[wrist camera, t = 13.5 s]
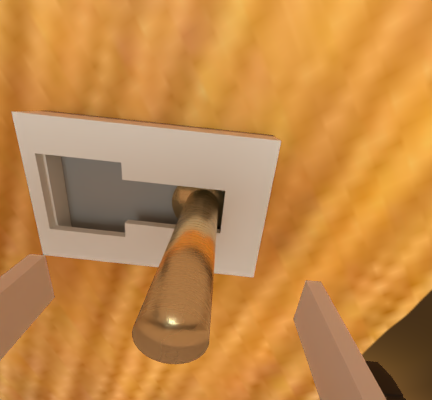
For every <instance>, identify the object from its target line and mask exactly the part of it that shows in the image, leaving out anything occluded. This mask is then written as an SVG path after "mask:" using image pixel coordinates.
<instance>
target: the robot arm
mask: <svg viewBox="0 0 432 400" xmlns="http://www.w3.org/2000/svg"><path fill="white" fill-rule="evenodd" d="M54 297H55V296H54V292H53V288H52V283H51V279H50V275H49V270H48V266H47V262H46V257H45V255H35V254H29V255H28V256H26V257H25V258H24V259H22V260H21V261H20V262H19V263H17V264H16V265H15V266H14V267H12V268H11V269H10V270H8V271H7V272H6V273H5V274H3V275H2V276H1V277H0V360H1V359H2V358H3V357H4V355H5V354H6V353H7V352H8V351H9V350H10V348H11V347H12V346H13V345H14V344H15V343H16V342H17V340H18V339H19V338H20V337H21V336H22V335H23V333H24V332H25V331H26V330H27V329H28V328H29V326H30V325H31V324H32V323H33V322H34V321H35V319H36V318H37V317H38V316H39V315H40V314H41V312H42V311H43V310H44V309H45V308H46V307H47V306H48V304H49V303H50V302H51V301H52V300H53V299H54ZM294 322H295V325H296V328H297V331H298V334H299V337H300V340H301V343H302V346H303V349H304V352H305V355H306V358H307V361H308V364H309V367H310V370H311V373H312V376H313V379H314V382H315V385H316V388H317V391H318V394H319V397H320V400H406V399H405V398H403V394H402V393H401V391H400V389H399V388H398V386H397V384H396V383H395V381H394V380H393V378H392V377H391V376H390V375H389V374H388V373H387V372H386V370H385V369H384V368H383V367H382V366H381V365H380V364H379V363H378V362H370V361H365V360H364V358H363V356H362V355H361V353H360V351H359V349H358V347H357V346H356V344H355V342H354V340H353V338H352V337H351V335H350V333H349V331H348V330H347V328H346V326H345V324H344V322H343V321H342V319H341V317H340V315H339V313H338V312H337V310H336V308H335V306H334V304H333V303H332V301H331V299H330V297H329V295H328V294H327V292H326V290H325V288H324V286H323V285H322V283H321V282H318V281H307V280H306V282H305V285H304V288H303V291H302V294H301V297H300V301H299V304H298V307H297V310H296V313H295V316H294Z"/></svg>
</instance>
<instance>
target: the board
mask: <svg viewBox="0 0 432 400" xmlns="http://www.w3.org/2000/svg"><path fill="white" fill-rule="evenodd" d="M12 116H13V121H14V125H15V130H16V134H17V139H18V143H19V148H20V152H21V157H22V161H23V166H24V170H25V175H26V179H27V184H28V188H29V193H30V197H31V202H32V206H33V211H34V215H35V220H36V224H37V229H38V233H39V238H40V242H41V247H42V251H43V255H48V256H58V257H67V258H76V259H86V260H95V261H104V262H114V263H123V264H133V265H142V266H151V267H159V264H160V262H161V260H162V257H163V255H164V252H165V250H166V248H167V245H168V243H169V241H170V238H171V236H172V233H173V231H174V229H175V226H176V224H177V221H178V219H177V217H176V216H175V214H174V211H173V208H172V197H173V193H174V191H175V189H176V187H177V186H186V187H195V188H204V189H213V190H223V191H225V196H224V204H223V212H222V221H221V226H220V227H219V228H217V234H216V248H215V263H214V273H217V274H226V275H236V276H245V277H254V272H255V267H256V262H257V257H258V253H259V248H260V243H261V238H262V233H263V228H264V223H265V218H266V213H267V208H268V204H269V199H270V194H271V189H272V184H273V179H274V174H275V169H276V164H277V159H278V155H279V150H280V145H281V140H279V139H277V138H276V137H274V136H273V135H264V134H255V133H246V132H236V131H227V130H218V129H209V128H200V127H190V126H181V125H172V124H163V123H153V122H144V121H135V120H126V119H117V118H107V117H98V116H89V115H80V114H71V113H61V112H52V111H14V112H12Z"/></svg>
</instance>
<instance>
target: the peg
mask: <svg viewBox="0 0 432 400" xmlns="http://www.w3.org/2000/svg"><path fill="white" fill-rule="evenodd" d="M224 196H225V191H223V190H213V189H204V188H195V187H186V186H177V187H176V189H175V191H174V193H173V197H172V208H173V211H174V214H175V216H176V217H177V219H178V221H177V224H176V226H175V229H174V231H173V233H172V236H171V238H170V241H169V243H168V245H167V248H166V250H165V252H164V255H163V257H162V260H161V262H160V264H159V267H158V269H157V272H156V274H155V276H154V279H153V281H152V284H151V286H150V288H149V291H148V293H147V296H146V298H145V300H144V303H143V305H142V308H141V310H140V312H139V315H138V317H137V319H136V322H135V324H134V327H133V330H132V337H133V341H134V343H135V345H136V346H137V348H138V349H139V350H140V351H141V352H142V353H143V354H145V355H146V356H148V357H149V358H151V359H153V360H156V361H159V362H162V363H168V364H183V363H188V362H191V361H194V360H196V359H197V358H199V357H200V356H202V355H203V354H204V353H205V351H206V350H207V348H208V345H209V335H210V320H211V306H212V292H213V277H214V263H215V248H216V234H217V228H219V227H220V226H221V221H222V212H223V204H224Z"/></svg>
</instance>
